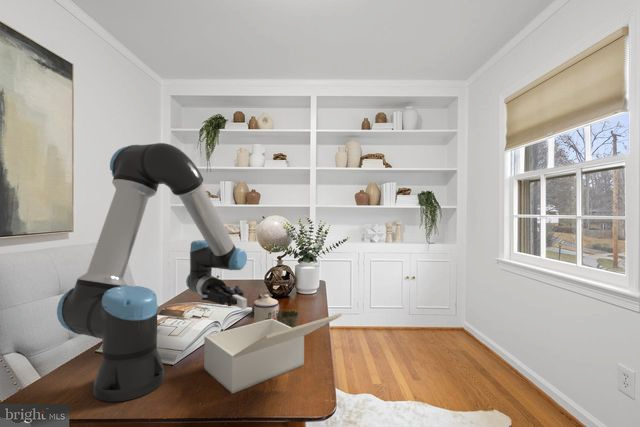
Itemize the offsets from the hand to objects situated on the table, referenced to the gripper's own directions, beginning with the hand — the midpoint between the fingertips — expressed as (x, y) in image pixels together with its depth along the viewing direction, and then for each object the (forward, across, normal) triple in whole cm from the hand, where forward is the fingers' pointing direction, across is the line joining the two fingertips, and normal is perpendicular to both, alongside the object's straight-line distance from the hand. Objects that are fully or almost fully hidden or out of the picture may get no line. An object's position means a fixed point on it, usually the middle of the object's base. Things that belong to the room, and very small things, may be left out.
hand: (244, 304), depth 98 cm
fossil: (-31, -27, -16) cm, 44 cm away
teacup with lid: (-18, -20, -16) cm, 31 cm away
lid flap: (+23, 0, -2) cm, 23 cm away
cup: (-5, -19, -16) cm, 25 cm away
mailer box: (+7, +1, -16) cm, 17 cm away
